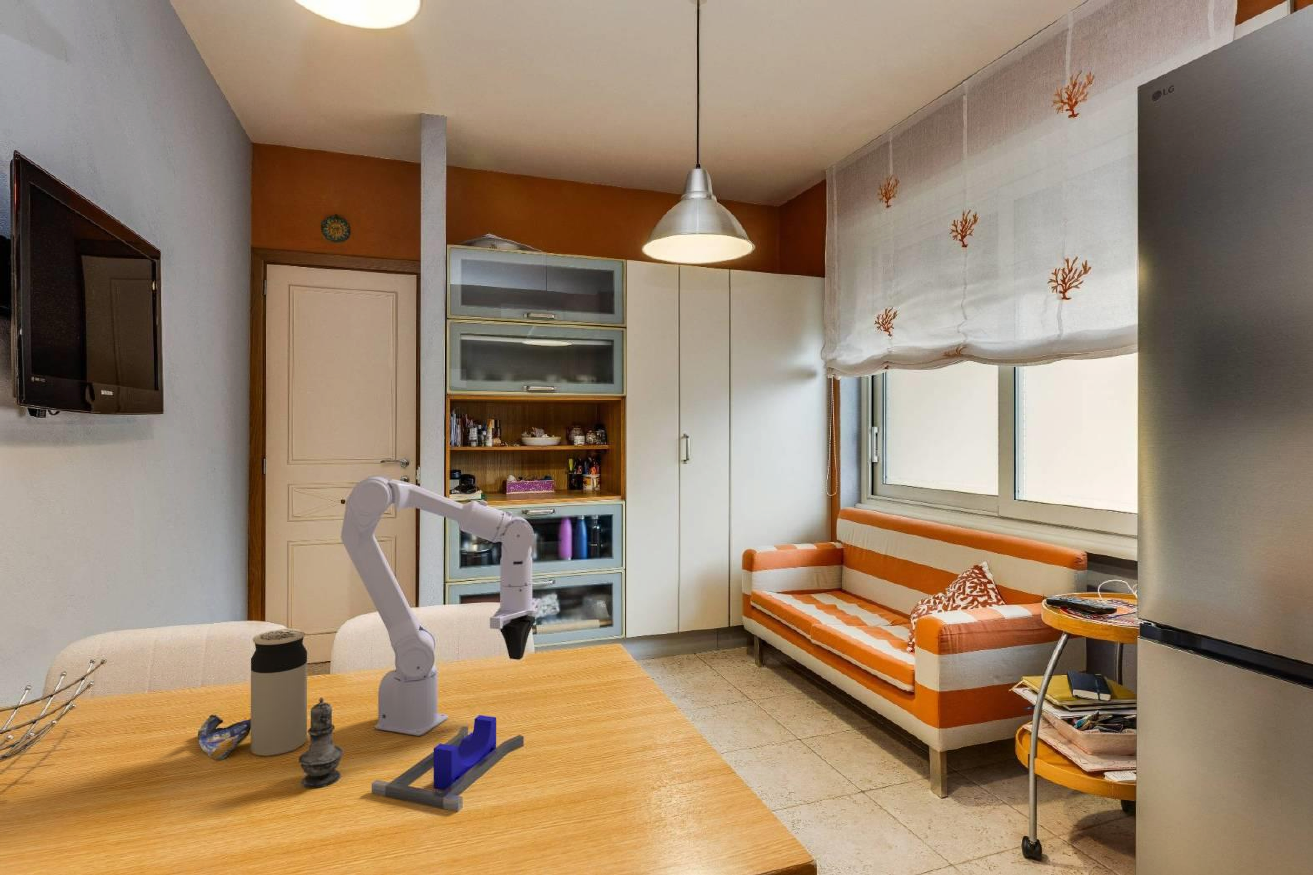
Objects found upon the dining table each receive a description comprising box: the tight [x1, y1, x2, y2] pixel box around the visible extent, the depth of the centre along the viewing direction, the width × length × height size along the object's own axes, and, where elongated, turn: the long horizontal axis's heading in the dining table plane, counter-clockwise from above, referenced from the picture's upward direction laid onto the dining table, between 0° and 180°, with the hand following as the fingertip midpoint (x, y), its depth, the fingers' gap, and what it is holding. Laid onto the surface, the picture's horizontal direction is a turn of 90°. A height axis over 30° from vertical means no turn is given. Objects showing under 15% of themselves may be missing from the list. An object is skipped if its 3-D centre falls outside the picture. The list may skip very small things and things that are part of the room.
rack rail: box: [371, 726, 525, 812], centre depth 102 cm, size 14×20×2 cm
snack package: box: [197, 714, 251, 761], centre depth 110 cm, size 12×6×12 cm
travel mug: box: [250, 628, 308, 757], centre depth 109 cm, size 8×8×18 cm
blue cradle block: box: [433, 714, 497, 792], centre depth 102 cm, size 12×4×6 cm, turn 163°
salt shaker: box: [298, 697, 344, 790], centre depth 99 cm, size 6×6×12 cm
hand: (516, 658), depth 122 cm, fingers closed
